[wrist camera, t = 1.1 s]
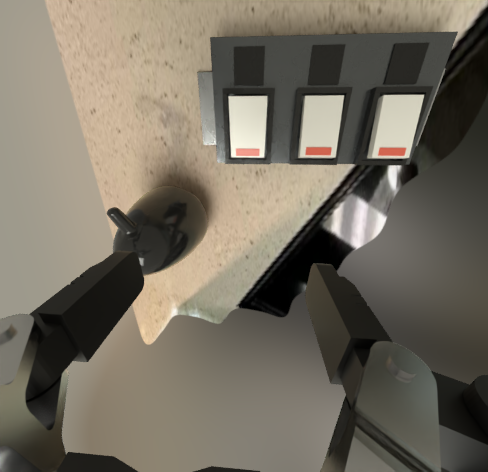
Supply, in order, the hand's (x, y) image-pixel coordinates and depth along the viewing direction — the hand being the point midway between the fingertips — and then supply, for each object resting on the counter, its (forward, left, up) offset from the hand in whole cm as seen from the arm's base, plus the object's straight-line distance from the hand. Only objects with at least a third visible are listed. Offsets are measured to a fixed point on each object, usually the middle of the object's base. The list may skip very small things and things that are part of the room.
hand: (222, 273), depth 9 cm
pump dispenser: (+5, -11, -23) cm, 26 cm away
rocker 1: (-7, 0, -18) cm, 19 cm away
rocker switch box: (-9, +8, -23) cm, 26 cm away
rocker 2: (-7, +16, -18) cm, 25 cm away
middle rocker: (-7, +8, -18) cm, 21 cm away
